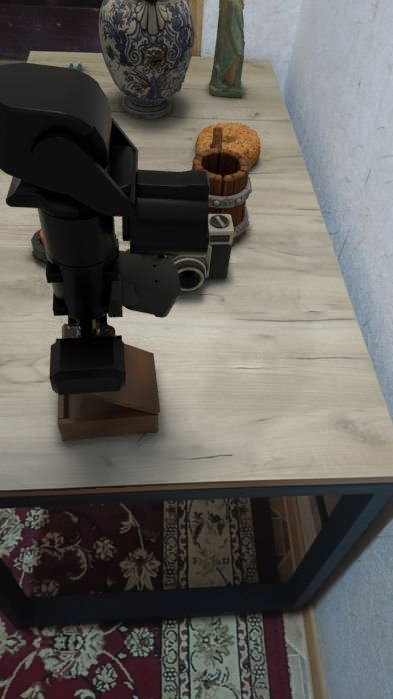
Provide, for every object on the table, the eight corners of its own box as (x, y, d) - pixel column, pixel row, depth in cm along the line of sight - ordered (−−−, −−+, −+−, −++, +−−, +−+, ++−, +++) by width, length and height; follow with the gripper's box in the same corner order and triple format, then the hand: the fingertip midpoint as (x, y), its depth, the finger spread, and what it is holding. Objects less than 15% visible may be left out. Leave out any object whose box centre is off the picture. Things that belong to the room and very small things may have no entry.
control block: (69, 269, 76) (66, 255, 73) (30, 264, 76) (26, 249, 73) (99, 194, 88) (97, 179, 85) (65, 190, 88) (63, 175, 85)
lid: (60, 390, 50) (83, 364, 47) (61, 326, 55) (83, 300, 52) (157, 414, 56) (182, 394, 54) (150, 356, 61) (173, 334, 59)
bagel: (266, 148, 101) (270, 124, 97) (247, 183, 93) (252, 159, 89) (206, 133, 103) (209, 109, 99) (184, 166, 95) (185, 142, 91)
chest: (62, 441, 58) (57, 424, 55) (63, 382, 63) (58, 363, 60) (158, 432, 60) (158, 415, 57) (152, 375, 65) (152, 356, 62)
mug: (180, 249, 80) (184, 157, 70) (177, 208, 90) (180, 123, 80) (251, 250, 81) (265, 160, 71) (240, 210, 91) (251, 125, 81)
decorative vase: (196, 132, 103) (208, -32, 80) (106, 133, 100) (93, -36, 78) (182, 83, 115) (190, -69, 93) (102, 83, 112) (90, -74, 90)
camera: (134, 295, 73) (132, 241, 65) (140, 256, 79) (140, 202, 71) (226, 302, 74) (236, 250, 66) (226, 262, 79) (234, 210, 72)
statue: (246, 99, 113) (266, -34, 93) (210, 98, 112) (222, -37, 92) (242, 85, 117) (260, -46, 97) (207, 84, 116) (218, -48, 96)
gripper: (192, 325, 36) (178, 427, 49) (165, 177, 47) (160, 290, 60) (36, 333, 34) (62, 436, 47) (46, 177, 46) (65, 294, 58)
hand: (93, 356), depth 53 cm, fingers closed on lid, 4 cm apart
